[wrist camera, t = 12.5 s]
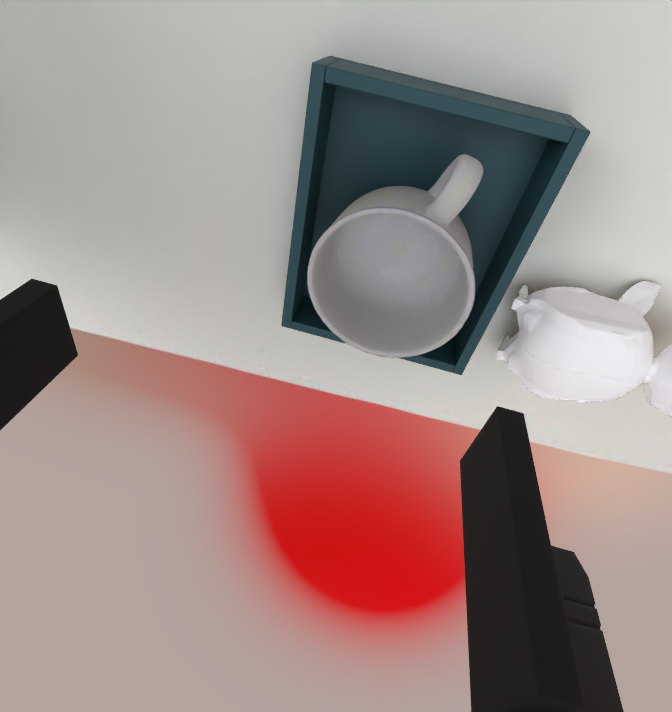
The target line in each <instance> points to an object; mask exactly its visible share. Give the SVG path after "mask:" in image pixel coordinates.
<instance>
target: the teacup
mask: <svg viewBox="0 0 672 712" xmlns="http://www.w3.org/2000/svg"><path fill="white" fill-rule="evenodd" d="M482 175H483V167H482V164H481V163H480V162H479V161H478V160H477V159H475V158H473V157H471V156H470V155H466V154H463V155H460V156H458V157H457V158H456V159H455V160H454V161H453V162H452V163H451V164H450V165H449V166H448V168H447V169H446V170H445V172H444V173H443V174H442V175H441V177H440V178H439V179H438V181H437V182H436V183H435V184H434V185H433V186H432V187H431V188H430V190H429V191H425V190H422V189H419V188H415V187H409V186H390V187H384V188H380V189H377V190H374V191H371V192H369V193H367V194H365V195H363V196H362V197H360V198H358V199H357V200H356V201H354V202H353V203H352V204H351V205H349V206H348V207H347V208H346V209H345V210H344V211H343V212H342V213H341V215H340V216H339V217H338V218H337V219H336V220H335V222H334V223H333V224H332V225H331V226H330V227H329V228H328V229H327V230H326V231H325V232H324V233H323V235H322V236H321V237H320V239H319V240H318V242H317V243H316V245H315V246H314V249H313V251H312V253H311V257H310V260H309V265H308V271H307V284H308V290H309V294H310V298H311V301H312V303H313V306H314V308H315V310H316V312H317V313H318V315H319V316H320V318H321V319H322V321H323V322H324V323H325V324H326V325H327V327H328V328H329V329H330V330H331V331H332V332H333V333H334V334H335V335H337V336H338V337H339V338H340V339H341V340H343V341H344V342H345V343H347V344H348V345H351V346H353V347H355V348H357V349H359V350H361V351H364V352H366V353H370V354H374V355H377V356H381V357H392V358H402V357H411V356H416V355H421V354H424V353H427V352H429V351H432V350H434V349H436V348H439V347H440V346H442V345H443V344H445V343H446V342H447V341H449V340H450V339H451V338H453V337H454V336H455V335H456V334H457V333H458V331H459V330H460V329H461V328H462V327H463V324H464V323H465V322H466V320H467V318H468V317H469V313H470V312H471V310H472V307H473V304H474V298H475V277H474V271H473V258H472V249H471V243H470V239H469V236H468V233H467V231H466V228H465V226H464V224H463V222H462V220H461V219H460V217H459V216H458V214H459V213H460V211H461V210H462V209H463V208H464V206H465V205H466V204H467V203H468V201H469V200H470V198H471V197H472V195H473V194H474V192H475V190H476V189H477V187H478V185H479V183H480V181H481V178H482Z"/></svg>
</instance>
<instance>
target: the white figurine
mask: <svg viewBox="0 0 672 712" xmlns="http://www.w3.org/2000/svg"><path fill="white" fill-rule="evenodd" d="M527 288H528V287H527V286H526V285H523V286H522V288H521V289H520V291H519V293H518V296H517V297H516V298H515V299H514V301H513V304H512V307H511V309H512V310H514V311H516V314H517V319H518V325H519V331H518V332H517V333H516V334H515V335H514V336H513V337H512V338H511V339H509V335H506V337H505V339H504V341H503V343H502V344H501V346H500V348H499V349H498V352H497V355H496V359H497V360H499V361H503V360H507V362H508V368H509V369H510V371H511V372H512V373H513V374H514V375H515V376H516V377H517V378H518V379H519V380H520V381H521V383H522V384H523V385H524V386H525V387H526V388H527V389H528V390H530V391H531V393H534V394H536V395H537V396H539V397H544V398H547V399H559V400H575V401H578V402H581V403H584V402H585V403H587V402H597V401H611V400H615V399H617V398H619V397H621V396H623V395H624V394H626V393H628V392H630V391H631V390H633V389H634V388H636V387H637V386H638V385H639V384H640V383H641V382H642V381H643V382H646V384H645V394H646V397H647V399H648V402H649V404H650V405H652V406H654V407H655V408H657V409H658V410H660V411H662V412H663V413H665V414H667V415H669V416H671V417H672V343H671V344H670V345H669V346H667V347H666V348H665V349H664V350H663V351H662V352H661V353H660V354H658V355H657V357H653V336H652V332H651V330H650V327H649V325H648V323H647V322H646V320H645V319H644V317H643V316H644V315H645V314H646V313H647V312H648V311H649V310H650V309H651V308H652V307H653V304H654V301H655V298H656V296H657V295H658V293H659V290H660V288H661V284H657V283H652V282H648V281H641V282H640V283H637V284H635V285H633V286H632V287H630V288H629V289H628V291H626V293H624V295H622V297H621V298H620V299H619V300H618V301H617V300H614V299H610V298H608V297H604V296H599V295H597V294H596V293H593V292H589V291H587V290H586V289H584V288H579V287H576V288H573V287H564V286H563V287H561V286H560V287H553V288H552V287H551V288H546V289H542V290H539V291H536V292H533V293H531V294H530V295H529V294H528V290H527Z"/></svg>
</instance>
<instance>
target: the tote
mask: <svg viewBox="0 0 672 712" xmlns="http://www.w3.org/2000/svg"><path fill="white" fill-rule="evenodd" d="M589 134H590V131H589V130H588V129H586V128H585V127H584V126H583V125H582V124H581V123H579V122H578V121H577V120H576V119H575V118H573V117H572V116H571V115H567V114H563V113H559V112H555V111H551V110H547V109H543V108H539V107H535V106H531V105H526V104H522V103H518V102H514V101H510V100H506V99H502V98H498V97H494V96H490V95H486V94H482V93H478V92H474V91H470V90H466V89H462V88H458V87H454V86H450V85H446V84H442V83H438V82H434V81H430V80H426V79H422V78H418V77H414V76H409V75H405V74H401V73H397V72H393V71H389V70H385V69H381V68H377V67H373V66H369V65H365V64H361V63H357V62H353V61H349V60H345V59H341V58H337V57H333V56H329V57H326V58H323V59H321V60H318V61H315V62H313V63H312V68H311V77H310V85H309V94H308V102H307V111H306V119H305V128H304V137H303V145H302V154H301V162H300V171H299V179H298V188H297V196H296V205H295V214H294V222H293V231H292V239H291V248H290V256H289V265H288V273H287V282H286V291H285V299H284V308H283V316H282V325H281V326H284V327H287V328H291V329H295V330H299V331H302V332H306V333H310V334H313V335H317V336H321V337H324V338H328V339H331V340H335V341H339V342H342V343H345V342H344V341H343V340H341V339H340V338H339V337H338V336H337V335H335V334H334V333H333V332H332V331H331V330H330V329H329V328H328V327H327V325H326V324H325V323H324V322H323V321H322V319H321V318H320V316H319V315H318V313H317V312H316V310H315V308H314V306H313V303H312V301H311V298H310V294H309V290H308V284H307V271H308V265H309V260H310V257H311V253H312V251H313V249H314V246H315V245H316V243H317V242H318V240H319V239H320V237H321V236H322V235H323V233H324V232H325V231H326V230H327V229H328V228H329V227H330V226H331V225H332V224H333V223H334V222H335V220H336V219H337V218H338V217H339V216H340V215H341V213H342V212H343V211H344V210H345V209H346V208H347V207H348V206H349V205H351V204H352V203H353V202H354V201H356V200H357V199H358V198H360V197H362V196H363V195H365V194H367V193H369V192H371V191H374V190H377V189H380V188H384V187H390V186H409V187H415V188H419V189H422V190H425V191H429V190H430V188H431V187H432V186H433V185H434V184H435V183H436V182H437V181H438V179H439V178H440V177H441V175H442V174H443V173H444V172H445V170H446V169H447V168H448V166H449V165H450V164H451V163H452V162H453V161H454V160H455V159H456V158H457V157H458V156H460V155H463V154H466V155H470V156H471V157H473V158H475V159H477V160H478V161H479V162H480V163H481V164H482V167H483V175H482V178H481V181H480V183H479V185H478V187H477V189H476V190H475V192H474V194H473V195H472V197H471V198H470V200H469V201H468V203H467V204H466V205H465V206H464V208H463V209H462V210H461V211H460V213H459V214H458V216H459V217H460V219H461V220H462V222H463V224H464V226H465V228H466V231H467V233H468V236H469V239H470V243H471V249H472V258H473V271H474V277H475V298H474V304H473V307H472V310H471V312H470V313H469V317H468V318H467V320H466V322H465V323H464V324H463V327H462V328H461V329H460V330H459V331H458V333H457V334H456V335H455V336H454V337H453V338H451V339H450V340H449V341H447V342H446V343H445V344H443V345H442V346H440V347H439V348H436V349H434V350H432V351H429V352H427V353H424V354H421V355H416V356H411V357H402V358H401V359H405V360H408V361H412V362H416V363H419V364H423V365H427V366H430V367H434V368H438V369H441V370H445V371H449V372H452V373H455V374H459V375H462V373H463V371H464V369H465V367H466V365H467V364H468V362H469V360H470V358H471V356H472V354H473V352H474V350H475V349H476V347H477V345H478V343H479V341H480V339H481V337H482V335H483V333H484V332H485V330H486V328H487V326H488V324H489V322H490V320H491V318H492V317H493V315H494V313H495V311H496V309H497V307H498V305H499V303H500V301H501V300H502V298H503V296H504V294H505V292H506V290H507V288H508V286H509V285H510V283H511V281H512V279H513V277H514V275H515V273H516V271H517V269H518V268H519V266H520V264H521V262H522V260H523V258H524V256H525V254H526V253H527V251H528V249H529V247H530V245H531V243H532V241H533V239H534V237H535V236H536V234H537V232H538V230H539V228H540V226H541V224H542V222H543V221H544V219H545V217H546V215H547V213H548V211H549V209H550V207H551V206H552V204H553V202H554V200H555V198H556V196H557V194H558V192H559V190H560V189H561V187H562V185H563V183H564V181H565V179H566V177H567V175H568V174H569V172H570V170H571V168H572V166H573V164H574V162H575V160H576V158H577V157H578V155H579V153H580V151H581V149H582V147H583V145H584V143H585V142H586V140H587V138H588V136H589ZM346 344H347V343H346Z"/></svg>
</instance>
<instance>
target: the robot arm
mask: <svg viewBox="0 0 672 712" xmlns="http://www.w3.org/2000/svg"><path fill="white" fill-rule="evenodd" d="M77 356H78V354H77V350H76V347H75V344H74V340H73V337H72V334H71V330H70V327H69V324H68V320H67V317H66V314H65V310H64V307H63V304H62V300H61V297H60V294H59V290H58V287H57V285H53V284H49V283H46V282H42V281H38V280H35V279H31V280H29V281H28V282H26V283H25V284H23V285H22V286H20V287H19V288H17V289H16V290H14V291H13V292H11V293H10V294H8V295H7V296H5V297H4V298H2V299H1V300H0V430H1V429H2V428H3V427H4V426H5V425H6V424H7V423H8V422H9V421H10V420H11V419H12V418H13V417H14V416H15V415H16V414H18V413H19V412H20V411H21V410H22V409H23V408H24V407H25V406H26V405H27V404H28V403H29V402H30V401H31V400H32V399H33V398H34V397H35V396H36V395H37V394H38V393H39V392H40V391H41V390H42V389H44V388H45V386H47V385H48V383H50V382H51V381H52V380H53V379H54V378H55V377H56V376H57V375H58V374H59V373H60V372H61V371H62V370H63V369H64V368H65V367H66V366H67V365H68V364H69V363H70V362H71V361H72V360H74V359H75V358H76V357H77ZM460 471H461V491H462V513H463V514H462V515H463V536H464V559H465V580H466V602H467V624H468V646H469V668H470V690H471V709H472V710H471V712H623V708H622V704H621V701H620V697H619V693H618V689H617V685H616V682H615V678H614V674H613V670H612V666H611V662H610V658H609V655H608V651H607V647H606V643H605V639H604V636H603V632H602V631H601V630H600V626H601V624H600V620H599V616H598V612H597V609H595V607H594V604H595V601H594V597H593V593H592V589H591V586H590V582H589V578H588V576H587V574H586V572H585V571H584V569H583V567H582V565H581V564H580V562H579V560H578V559H577V557H576V555H575V553H574V552H572V551H568V550H564V549H561V548H557V547H554V546H551V544H550V540H549V534H548V530H547V525H546V520H545V515H544V510H543V505H542V501H541V496H540V491H539V486H538V482H537V476H536V472H535V467H534V462H533V458H532V452H531V447H530V443H529V438H528V433H527V428H526V423H525V418H524V414H523V413H520V412H516V411H513V410H509V409H505V408H502V407H498V406H497V407H496V409H495V410H494V412H493V413H492V415H491V416H490V418H489V419H488V421H487V422H486V424H485V425H484V427H483V428H482V429H481V431H480V432H479V434H478V435H477V437H476V438H475V440H474V442H473V443H472V444H471V446H470V447H469V449H468V450H467V452H466V453H465V454H464V456H463V458H462V459H461V460H460Z"/></svg>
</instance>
